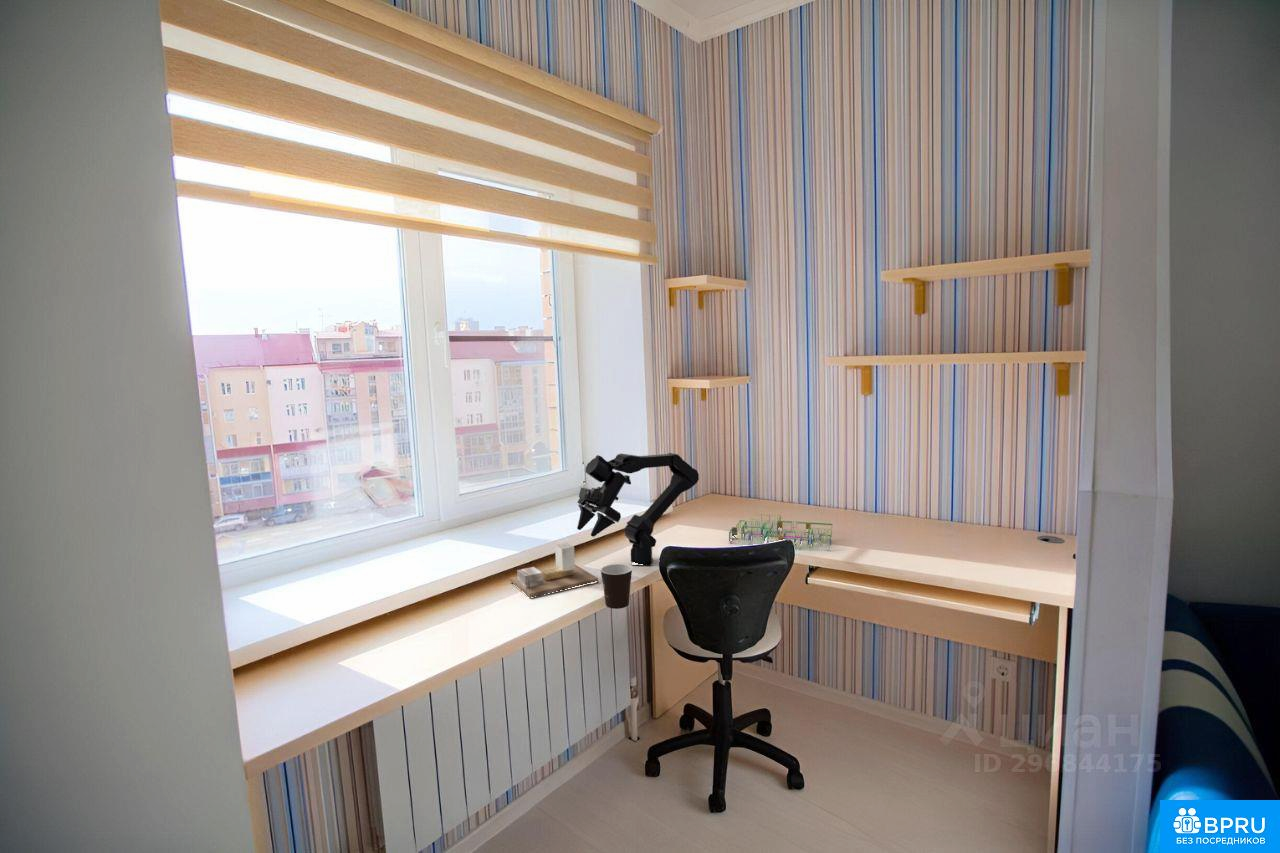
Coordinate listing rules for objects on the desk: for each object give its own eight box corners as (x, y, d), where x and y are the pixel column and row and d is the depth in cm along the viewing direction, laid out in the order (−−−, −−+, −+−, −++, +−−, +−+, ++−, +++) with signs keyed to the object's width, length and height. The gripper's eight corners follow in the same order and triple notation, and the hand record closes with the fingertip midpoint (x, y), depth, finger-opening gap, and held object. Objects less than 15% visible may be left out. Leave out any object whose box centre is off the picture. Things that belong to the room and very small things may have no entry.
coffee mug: (626, 611, 170) (625, 575, 169) (596, 608, 173) (595, 572, 172) (640, 596, 181) (639, 562, 180) (612, 593, 184) (611, 559, 183)
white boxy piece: (567, 570, 198) (566, 542, 197) (574, 575, 194) (574, 546, 193) (541, 576, 194) (540, 547, 193) (547, 581, 189) (546, 552, 188)
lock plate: (574, 568, 206) (574, 553, 205) (598, 582, 192) (597, 566, 192) (509, 582, 194) (509, 566, 194) (529, 598, 181) (529, 581, 180)
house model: (728, 545, 229) (728, 532, 228) (742, 524, 256) (742, 513, 256) (830, 553, 218) (830, 539, 217) (832, 530, 245) (832, 518, 245)
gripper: (578, 472, 205) (552, 514, 202) (606, 481, 189) (579, 527, 186) (603, 489, 211) (578, 530, 207) (632, 499, 195) (606, 544, 191)
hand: (585, 532), depth 198 cm, fingers open, 9 cm apart
